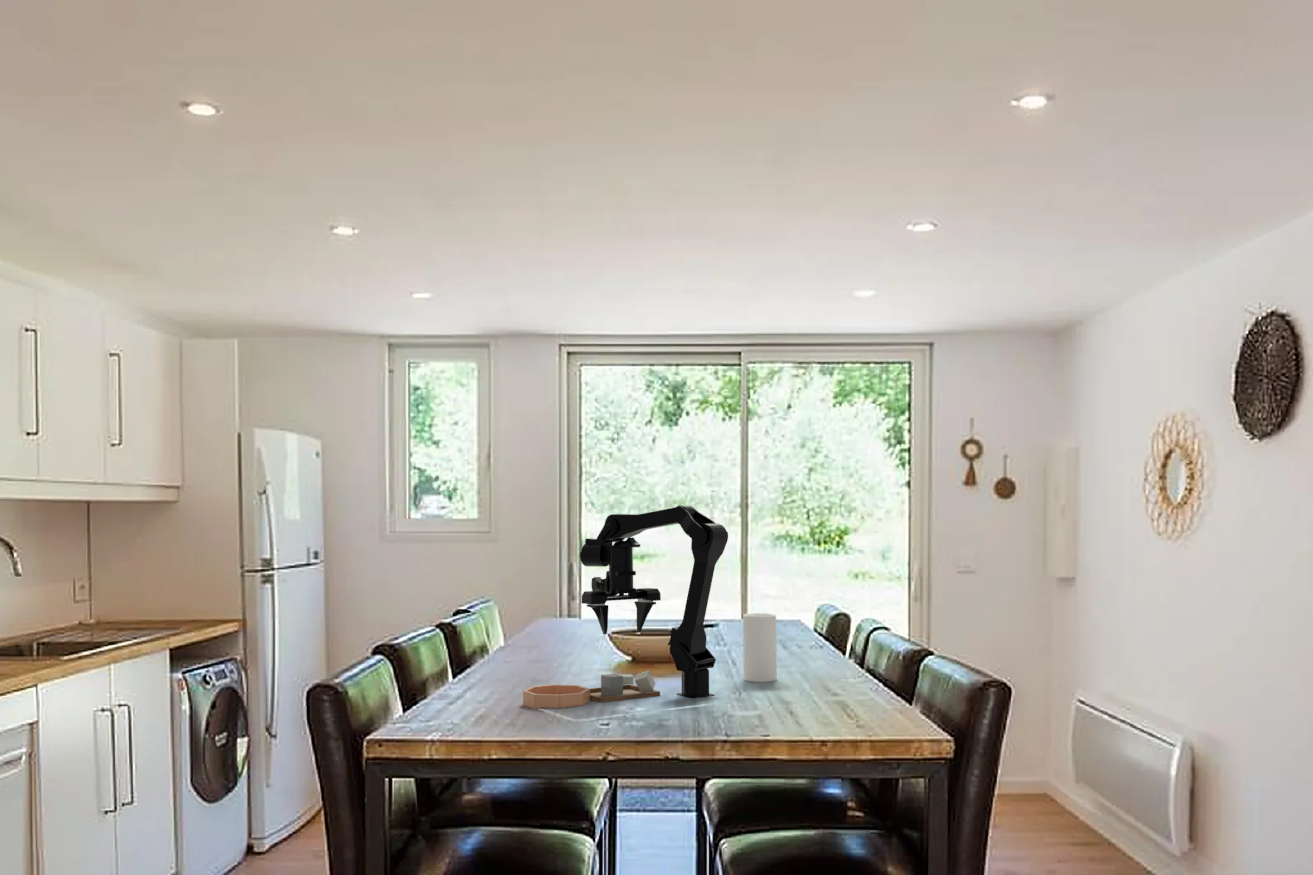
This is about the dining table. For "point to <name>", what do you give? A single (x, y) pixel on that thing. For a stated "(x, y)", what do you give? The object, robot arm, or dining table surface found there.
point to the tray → (628, 693)
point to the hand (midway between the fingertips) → (622, 632)
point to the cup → (759, 647)
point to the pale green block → (627, 679)
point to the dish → (555, 696)
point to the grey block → (611, 685)
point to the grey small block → (645, 681)
